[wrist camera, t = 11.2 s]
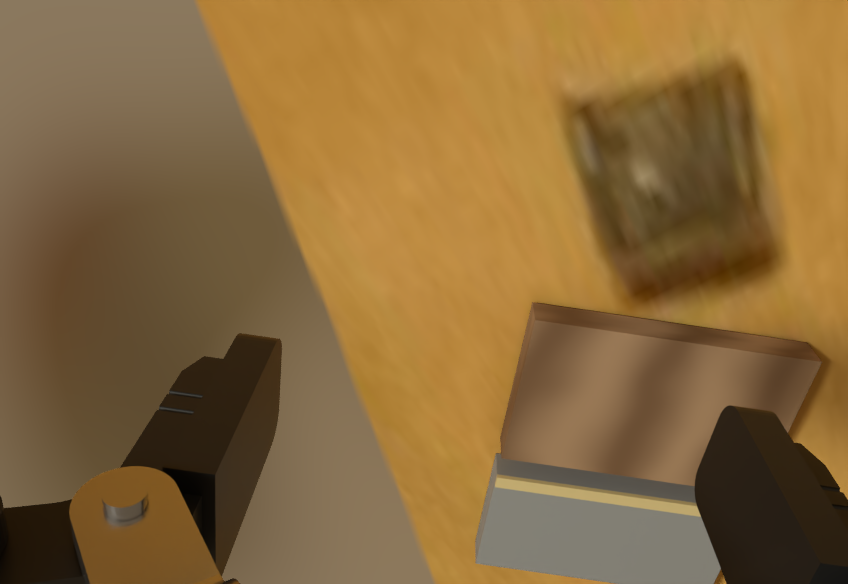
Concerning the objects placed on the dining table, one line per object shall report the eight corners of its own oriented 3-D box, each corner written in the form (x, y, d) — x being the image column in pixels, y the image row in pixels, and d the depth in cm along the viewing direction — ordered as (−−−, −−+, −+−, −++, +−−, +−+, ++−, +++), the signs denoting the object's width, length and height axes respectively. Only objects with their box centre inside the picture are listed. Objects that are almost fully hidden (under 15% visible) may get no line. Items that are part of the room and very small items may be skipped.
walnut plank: (807, 342, 41) (822, 362, 39) (746, 472, 46) (757, 495, 44) (532, 302, 41) (535, 320, 39) (500, 437, 46) (501, 458, 44)
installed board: (737, 488, 47) (749, 514, 45) (699, 572, 50) (709, 600, 48) (496, 453, 47) (497, 477, 44) (475, 540, 50) (475, 566, 48)
